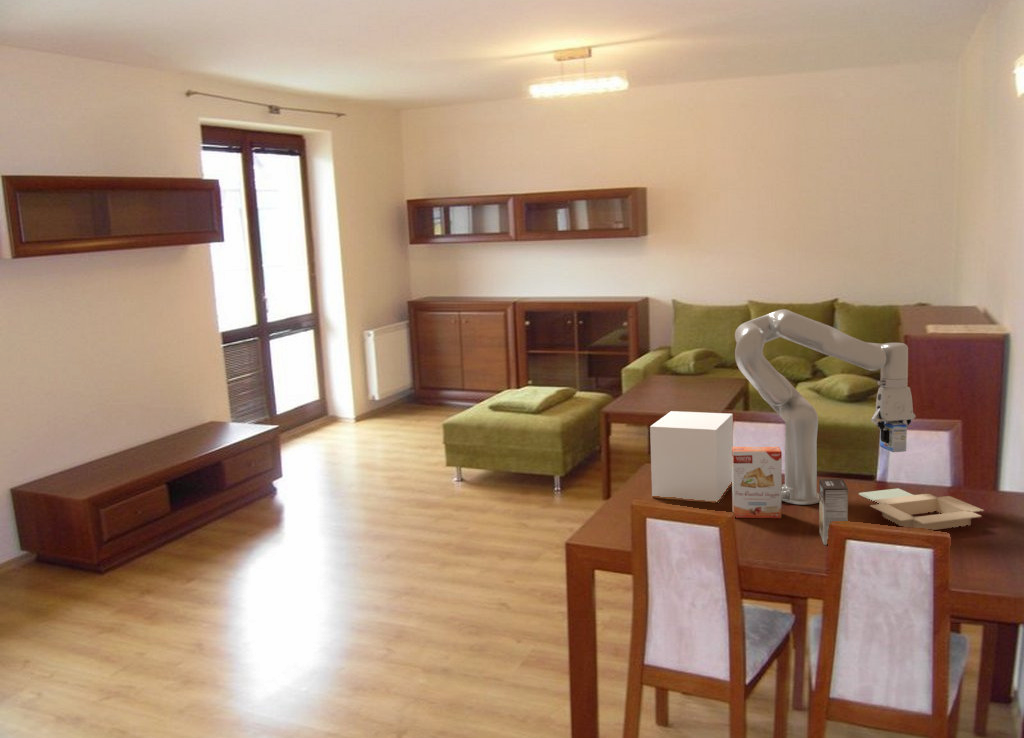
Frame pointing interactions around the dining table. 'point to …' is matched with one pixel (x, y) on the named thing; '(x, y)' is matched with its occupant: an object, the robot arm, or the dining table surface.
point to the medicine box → (895, 437)
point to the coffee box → (831, 504)
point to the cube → (691, 455)
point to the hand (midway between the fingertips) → (893, 440)
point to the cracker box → (756, 482)
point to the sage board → (884, 494)
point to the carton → (949, 507)
